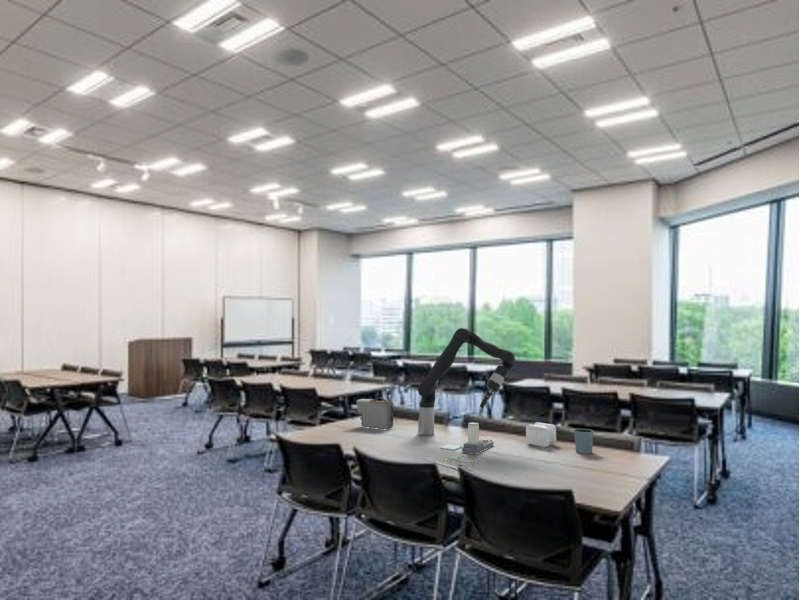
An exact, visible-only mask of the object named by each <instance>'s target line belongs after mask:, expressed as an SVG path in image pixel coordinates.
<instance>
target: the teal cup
mask: <svg viewBox="0 0 800 600" xmlns="http://www.w3.org/2000/svg"><path fill="white" fill-rule="evenodd" d="M573 436H574V445H575V453H577V452H578V453H577V454H580V453H583V454H582V455H591V454H590V453H592V454H593V445H594V444H593V443H594V441H593V438H594V430H592V429H589V428H575V429H573Z"/></svg>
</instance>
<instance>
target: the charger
mask: <svg viewBox="0 0 800 600" xmlns="http://www.w3.org/2000/svg"><path fill="white" fill-rule="evenodd" d="M479 440H480V426H479V422H468V425H467V442H468V444H473V445H477V444H479Z"/></svg>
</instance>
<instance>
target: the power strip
mask: <svg viewBox="0 0 800 600" xmlns="http://www.w3.org/2000/svg"><path fill="white" fill-rule="evenodd" d="M493 445H494V441H493V440H492V439H490V440H489V439H488V438H484V439H479V444H477V445H473V444H468V441H466V442H464V443H463V447H461V453H462V452H463V454H468V453H473V454H472V455H475V454H476V453H478V452H480V451H482V450H484V449H486V448H488V449H490V448H492V447H494V446H493ZM491 446H492V447H491ZM489 447H490V448H489ZM486 450H487V449H486ZM484 451H485V450H484ZM482 452H483V451H482ZM480 453H481V452H480ZM478 454H479V453H478ZM476 455H477V454H476Z"/></svg>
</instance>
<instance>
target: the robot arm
mask: <svg viewBox="0 0 800 600" xmlns="http://www.w3.org/2000/svg"><path fill="white" fill-rule="evenodd" d="M464 344H470V345H472V346H475V347H476V348H478V349H479V350H480V351H482V352H483V353H485V354H487V355H488V356H490V357H492V358H495V359H498V360H499V359H500V360H501V363H500V364H499V365H497V366H496V368H495V369H494V371H493V373H492V374H491V376H490V377H489V379H488V381H487V383H486V385H485V387H486V388H487V389H488V390H486V391H485V394H484V395H483V398H482V400H481V403H480V405H479V407H480V408H481V409H483V408H484V407H486V404H487V402H488V401H489V400H490V399H491V397H492V396H493V394H494V393H498V392H499V390H500V388H501V386H502V384H503V383H504V380H505V378H506V377H507V376H508V373H509V372H510V370H511V369H513V366H515V363H516V357H515V354H514V353H513V352H512V351H510V350H508V349H505V348H502V347H500V346H498V345H496V344H495V343H493V342H490V341H488V340H487V339H484V338H483V337H481V336H479V335H477V334H476V333H475V332H473V331H472V330H471V328H467V327H459V328H457V329H456V330H455V332H454V334H453V335H452V337H451V340H450V341H449V343H448V344H447V345H446V347H444V349H443V351H442V352H441V353H440V355H439V357H438V358H437V359H436V361H435V363H434V364H433V366H432V367H431V368H430V370H429V372H428V374H427V375H426V376H425V378H424V379H423V380H422V381H421V382H420V383H419V384H418V388H417V393H418V395H420V397H421V399H420V401H419V418H417V425H418V426H417V434H418V435H421V436H433V435H434V434H435V403H436V384H437V382H438V381H439V380H440V379H441V378H442V377H443V376H445V374H446V373H448V371H449V370H450V368H451V367H452V365H453V364H454V362H455V359H456V357H457V353H458V352H459V350H460V348H462V346H463V345H464ZM493 392H494V393H493Z"/></svg>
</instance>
